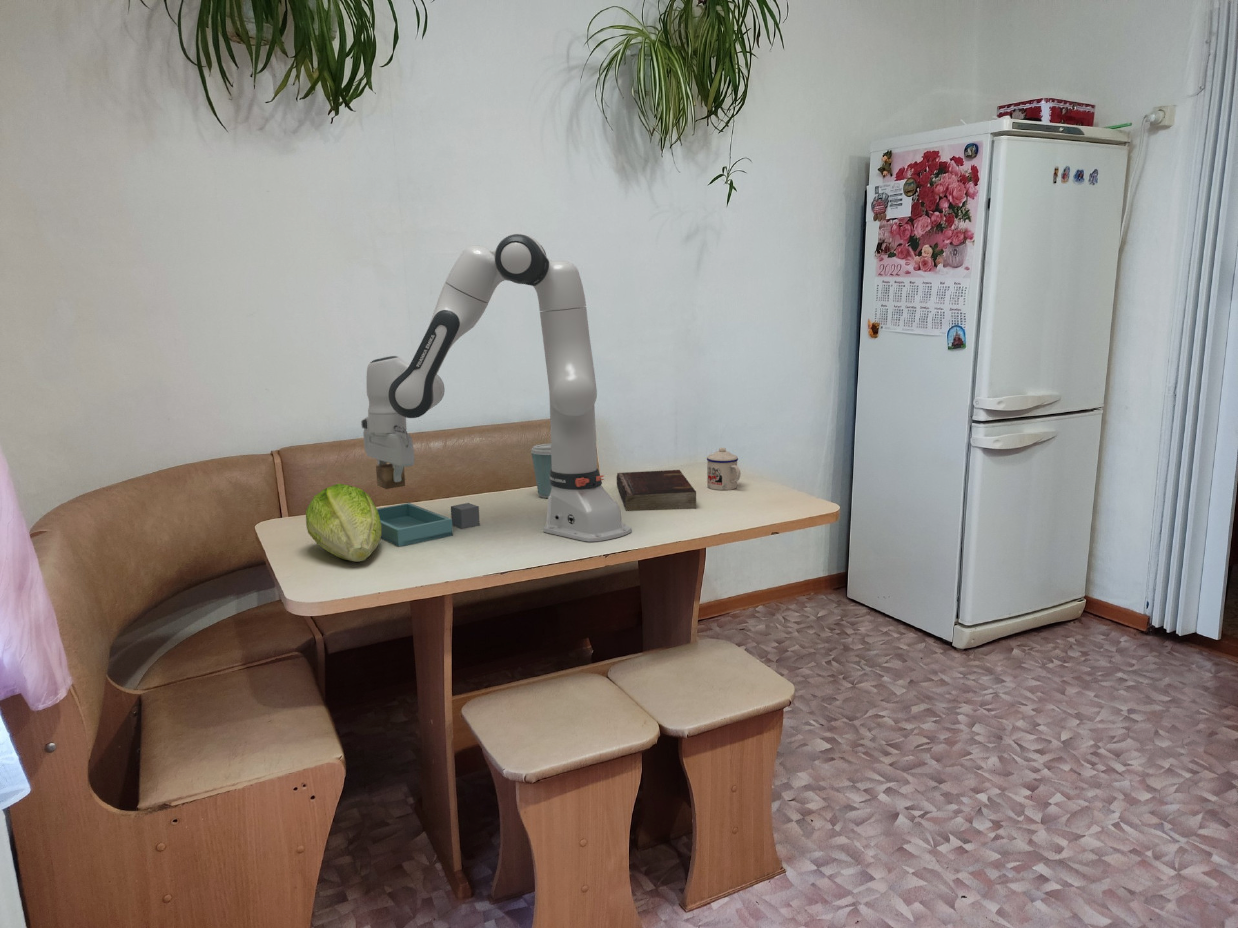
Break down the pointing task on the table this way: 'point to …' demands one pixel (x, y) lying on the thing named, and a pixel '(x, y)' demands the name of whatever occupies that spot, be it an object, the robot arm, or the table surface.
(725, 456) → the teacup with lid
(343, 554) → the lettuce
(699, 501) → the table surface
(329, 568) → the table surface
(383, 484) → the walnut block
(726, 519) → the table surface
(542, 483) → the disposable coffee cup
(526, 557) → the table surface
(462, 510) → the charcoal block
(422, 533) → the teal tray
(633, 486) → the hardback book
